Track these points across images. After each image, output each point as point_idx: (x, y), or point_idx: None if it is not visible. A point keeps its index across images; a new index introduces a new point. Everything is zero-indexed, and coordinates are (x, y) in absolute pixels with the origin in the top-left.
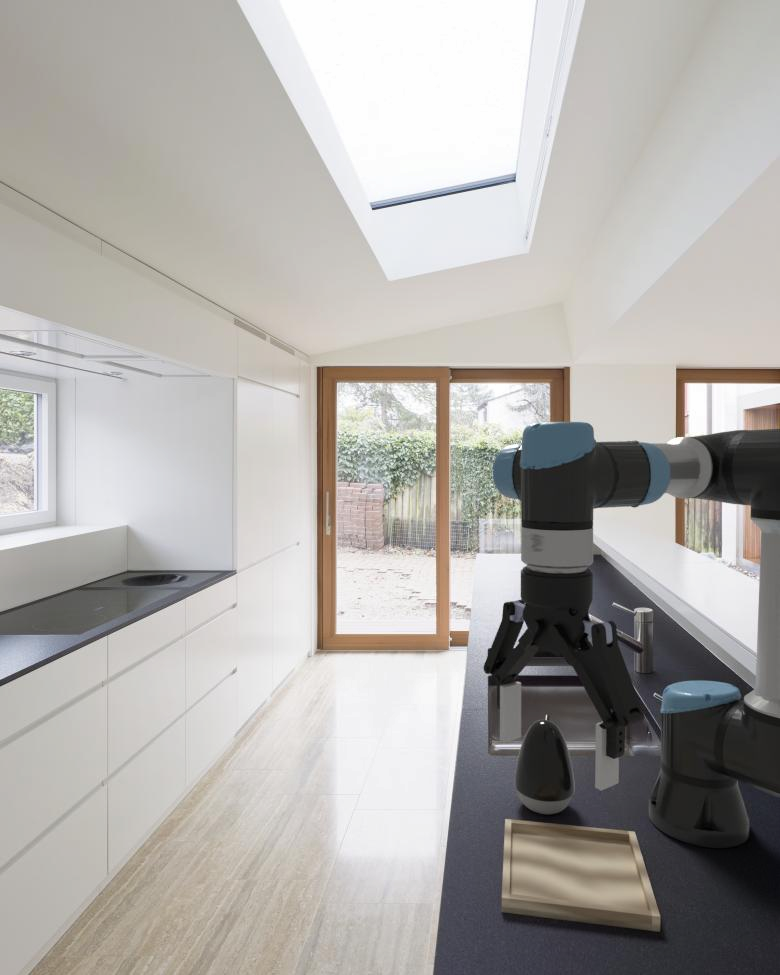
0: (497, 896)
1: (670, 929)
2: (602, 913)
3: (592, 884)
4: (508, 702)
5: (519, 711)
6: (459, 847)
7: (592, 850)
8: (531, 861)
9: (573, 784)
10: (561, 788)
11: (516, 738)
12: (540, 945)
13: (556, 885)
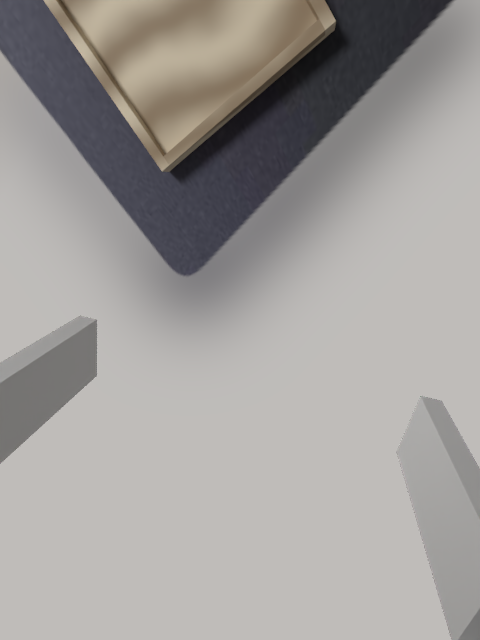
0: None
1: (344, 9)
2: (266, 82)
3: (219, 16)
4: (15, 431)
5: (44, 363)
6: (43, 96)
7: None
8: (128, 45)
9: None
10: None
11: (96, 337)
12: (233, 186)
13: (185, 68)
